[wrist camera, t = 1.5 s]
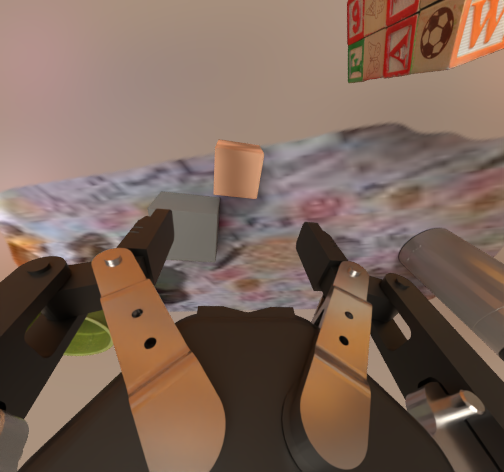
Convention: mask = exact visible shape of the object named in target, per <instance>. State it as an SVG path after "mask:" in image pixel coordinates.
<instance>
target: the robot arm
mask: <svg viewBox="0 0 504 472" xmlns="http://www.w3.org/2000/svg"><path fill="white" fill-rule="evenodd" d="M173 242H174V224H173V215H172V211H171V210H170V209H159V208H157V209H155V211H154V212H153V214H152V215H151V216H145V217H144V218H142V219H140V220H138V221H137V223H136V224H135V225H134V227H133V228H132V229H131V230H130V232H129V233H128V234H127V235H126V236H125V238H124V239H123V240H122V241H121V243H120V244H119V245H118V246H117V248H113V249H109V250H106V251H103V252H101V253H100V254H98V255H97V256H96V257H94V259H93V260H92V262H87V263H80V264H74V265H67V263H66V261H65V260H64V259H63V258H61V257H57V256H48V257H42V258H38V259H35V260H32V261H29V262H27V263H25V264H23V265H21V266H20V267H18V268H17V269H16V270H15V271H13V272H12V273H11V274H10V275H9V276H7V277H6V278H5V279H4V280H3V281H1V282H0V472H504V382H503V381H502V380H501V379H500V378H499V377H498V376H497V374H496V373H495V372H494V371H493V370H492V369H491V368H490V367H489V366H488V365H487V364H486V362H485V361H484V360H483V359H482V358H481V357H480V356H479V355H478V354H477V353H476V352H475V351H474V350H473V348H472V347H471V346H470V345H469V344H468V343H467V342H466V341H465V340H464V339H463V338H462V337H461V335H460V334H459V333H458V332H457V331H456V330H455V329H454V328H453V327H452V326H451V325H450V323H449V322H448V321H447V320H446V319H445V318H444V317H443V316H442V315H441V314H440V313H439V311H438V310H437V309H436V308H435V307H434V306H433V305H432V304H431V303H430V302H429V301H428V299H427V298H426V297H425V296H424V295H423V294H422V293H421V292H420V291H419V290H418V289H417V287H416V286H415V285H414V284H413V283H412V282H410V281H409V280H408V279H406V278H404V277H402V276H400V275H398V274H394V273H388V274H387V275H386V276H385V277H384V278H383V279H379V278H375V277H372V276H369V274H368V272H367V271H366V270H365V269H364V268H363V267H362V266H360V265H359V264H357V263H354V262H351V261H348V260H347V258H346V257H345V256H344V254H343V253H342V251H341V250H340V249H339V247H337V244H336V243H334V240H333V239H332V238H331V236H330V235H328V234H327V233H326V232H325V231H323V230H322V229H321V228H320V226H319V225H318V223H313V222H304V223H303V226H302V228H301V231H300V234H299V237H298V239H297V243H296V250H297V252H298V255H299V257H300V259H301V262H302V264H303V267H304V269H305V271H306V274H307V276H308V278H309V281H310V283H311V285H312V288H313V290H314V291H322V292H323V295H322V297H321V299H320V301H319V304H318V306H317V309H316V311H315V314H314V317H313V319H312V321H311V322H310V321H308V320H306V319H304V318H302V317H299V316H297V315H295V314H294V310H293V307H269V308H265V309H261V310H257V311H253V312H243V311H239V310H235V309H231V308H227V307H224V306H198V311H197V314H194V315H191V316H188V317H185V318H184V319H181V320H179V321H178V322H176V323H174V321H173V320H172V318H171V316H170V314H169V312H168V311H167V309H166V307H165V305H164V304H163V302H162V300H161V298H160V296H159V295H158V293H157V291H156V289H155V287H154V286H153V285H155V284H156V282H157V279H158V277H159V275H160V272H161V270H162V268H163V265H164V263H165V261H166V258H167V256H168V254H169V251H170V249H171V247H172V244H173ZM399 259H400V262H401V263H402V264H403V265H404V266H405V267H406V268H407V269H408V270H409V271H410V272H412V273H413V274H414V275H415V276H416V277H417V278H418V279H419V280H420V281H421V282H422V283H423V284H424V285H425V286H426V287H427V288H428V289H429V290H430V291H431V292H432V293H433V294H434V295H435V296H436V297H437V298H438V299H440V300H441V301H442V302H443V303H444V304H445V305H446V306H447V307H448V308H449V309H450V310H451V311H452V312H453V313H454V314H455V315H456V316H457V317H458V318H459V319H460V320H461V321H463V322H464V323H465V324H466V325H467V326H468V327H469V328H470V329H471V330H472V331H473V332H474V333H475V334H476V335H477V336H478V337H479V338H480V339H481V340H482V341H484V343H486V345H488V346H489V347H490V348H491V349H492V350H493V351H494V352H495V353H496V354H497V355H498V356H499V357H500V358H501V359H502V360H503V361H504V264H503V263H501V262H499V261H498V260H496V259H495V258H493V257H491V256H490V255H488V254H486V253H485V252H483V251H481V250H480V249H478V248H476V247H475V246H473V245H472V244H470V243H468V242H467V241H465V240H463V239H462V238H460V237H458V236H457V235H455V234H453V233H452V232H450V231H448V230H446V229H443V228H436V229H431V230H427V231H425V232H422V233H420V234H419V235H417V236H415V237H414V238H412V239H411V240H410V241H409V242H407V243H406V245H405V246H404V247H403V248H402V250H401V252H400V254H399ZM100 310H103V311H104V315H105V318H106V321H107V325H108V328H109V331H110V335H111V338H112V341H113V345H114V348H115V351H116V354H117V358H118V361H119V364H120V368H121V371H122V372H121V373H120V374H119V375H118V376H117V377H115V378H114V379H113V380H112V381H111V382H110V383H109V384H108V385H107V386H106V387H105V388H104V389H103V390H102V391H101V392H99V394H97V395H96V396H95V397H94V398H93V399H92V400H91V401H90V402H89V403H88V404H87V405H86V406H85V407H84V408H82V409H81V410H80V411H79V412H78V413H77V414H76V415H75V416H74V417H73V418H72V419H71V420H70V421H69V422H68V423H66V424H65V425H64V426H63V427H62V428H61V429H60V430H59V431H58V432H57V433H56V434H55V435H54V436H53V437H52V438H51V439H49V440H48V441H47V442H46V443H45V444H44V445H43V446H42V447H41V448H40V449H39V450H38V451H37V452H36V453H35V454H34V455H33V456H31V457H30V458H29V459H28V460H27V462H26V463H25V464H24V465H23V466H22V467H21V468H20V469H19V470H18V471H17V467H18V461H19V460H20V458H21V456H22V453H23V448H24V446H25V443H26V441H27V438H28V432H29V428H28V424H27V422H26V421H25V420H24V418H25V417H26V415H27V413H28V412H29V410H30V408H31V407H32V405H33V404H34V402H35V400H36V398H37V397H38V395H39V394H40V392H41V390H42V389H43V387H44V386H45V384H46V382H47V381H48V379H49V377H50V376H51V374H52V372H53V371H54V369H55V367H56V365H57V364H58V362H59V361H60V359H61V358H62V356H63V354H64V353H65V351H66V349H67V348H68V346H69V344H70V343H71V341H72V340H73V338H74V336H75V335H76V333H77V331H78V330H79V328H80V326H81V325H82V323H83V321H84V320H85V318H86V317H87V315H88V313H92V312H96V311H100ZM40 312H41V314H40V316H39V317H38V318H37V319H36V321H35V322H34V323H33V324H32V325H31V327H30V328H29V329H28V330H27V328H28V326H29V325H30V324H31V323H32V322H33V320H34V319H35V318H36V317H37V316H38V314H39V313H40ZM398 313H399V314H400V315H401V316H402V318H403V319H404V320H405V322H406V323H407V325H408V326H409V328H410V330H411V338H410V339H409V340H407V339H406V338H405V336H404V335H403V333H402V332H401V330H400V329H399V327H398V326H397V324H396V323H395V321H394V320H393V318H394V316H396V315H397V314H398ZM26 330H27V331H26ZM25 332H26V333H25ZM370 334H371V336H372V338H373V340H374V342H375V343H376V346H377V348H378V349H379V351H380V353H381V355H382V357H383V359H384V361H385V363H386V364H387V366H388V368H389V370H390V372H391V374H392V376H393V377H394V379H395V381H396V383H397V385H398V387H399V389H400V391H401V393H402V394H403V396H404V398H405V400H406V408H407V411H406V410H405V409H404V408H403V407H402V406H401V405H400V404H399V403H398V402H397V401H396V400H395V399H394V398H392V396H390V395H389V394H388V393H387V392H386V391H385V390H384V389H383V388H382V387H381V386H380V385H379V384H378V383H377V382H376V381H374V380H373V379H372V378H371V377H370V376H369V375H368V374H367V366H368V353H369V341H370Z"/></svg>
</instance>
